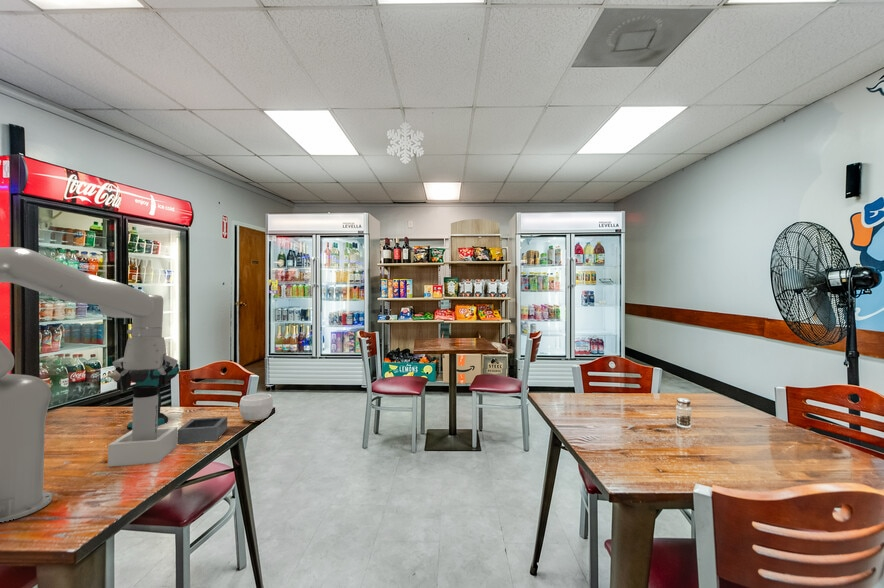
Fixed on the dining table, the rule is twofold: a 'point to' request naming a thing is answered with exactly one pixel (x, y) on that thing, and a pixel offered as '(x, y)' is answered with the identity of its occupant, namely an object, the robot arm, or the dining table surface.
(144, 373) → the power drill
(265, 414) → the cup
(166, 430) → the light grey square tray
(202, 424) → the socket block
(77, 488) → the dining table surface
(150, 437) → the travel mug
